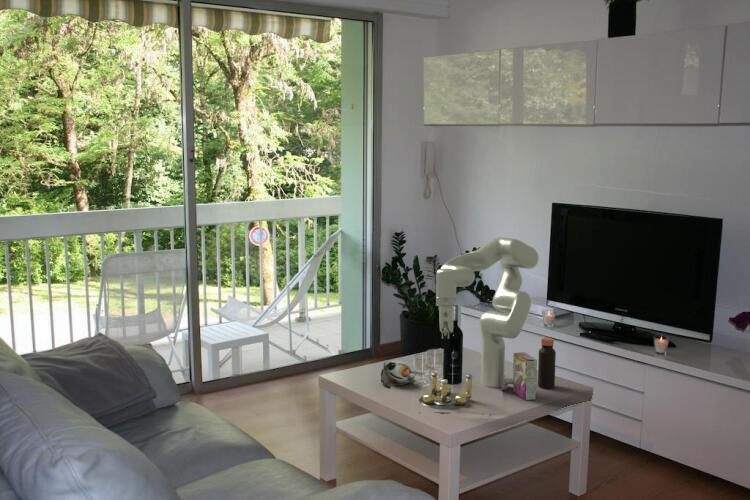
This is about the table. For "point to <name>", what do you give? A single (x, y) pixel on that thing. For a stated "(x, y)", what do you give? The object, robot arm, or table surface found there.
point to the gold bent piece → (463, 398)
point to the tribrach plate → (447, 406)
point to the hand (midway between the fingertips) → (445, 345)
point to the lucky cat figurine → (396, 373)
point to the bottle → (546, 364)
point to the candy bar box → (524, 376)
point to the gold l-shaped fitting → (431, 397)
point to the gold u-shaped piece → (434, 386)
